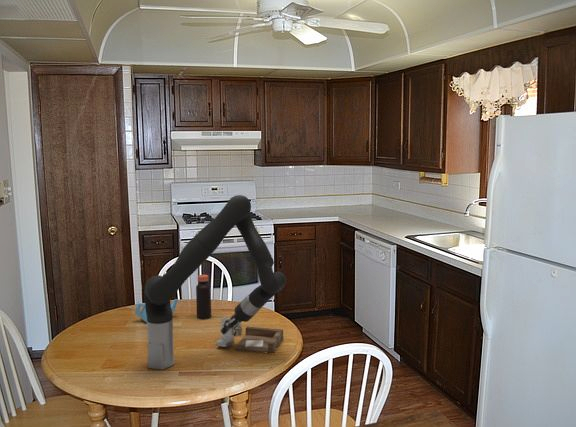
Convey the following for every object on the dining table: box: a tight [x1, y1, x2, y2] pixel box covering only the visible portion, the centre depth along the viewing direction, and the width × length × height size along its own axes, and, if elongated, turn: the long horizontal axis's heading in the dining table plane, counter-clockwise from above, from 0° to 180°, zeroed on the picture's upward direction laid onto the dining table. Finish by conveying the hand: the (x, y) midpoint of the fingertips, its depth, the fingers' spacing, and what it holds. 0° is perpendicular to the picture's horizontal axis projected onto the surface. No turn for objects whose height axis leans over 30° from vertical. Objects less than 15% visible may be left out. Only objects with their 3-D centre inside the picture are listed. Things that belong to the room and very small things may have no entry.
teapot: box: [134, 298, 179, 324], centre depth 242 cm, size 15×15×11 cm
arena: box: [233, 326, 284, 354], centre depth 213 cm, size 16×16×4 cm
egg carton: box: [234, 322, 242, 336], centre depth 227 cm, size 11×8×4 cm
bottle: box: [195, 274, 212, 320], centre depth 244 cm, size 7×7×20 cm
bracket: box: [215, 316, 235, 348], centre depth 209 cm, size 6×5×10 cm
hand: (223, 331), depth 212 cm, fingers closed on bracket, 1 cm apart
